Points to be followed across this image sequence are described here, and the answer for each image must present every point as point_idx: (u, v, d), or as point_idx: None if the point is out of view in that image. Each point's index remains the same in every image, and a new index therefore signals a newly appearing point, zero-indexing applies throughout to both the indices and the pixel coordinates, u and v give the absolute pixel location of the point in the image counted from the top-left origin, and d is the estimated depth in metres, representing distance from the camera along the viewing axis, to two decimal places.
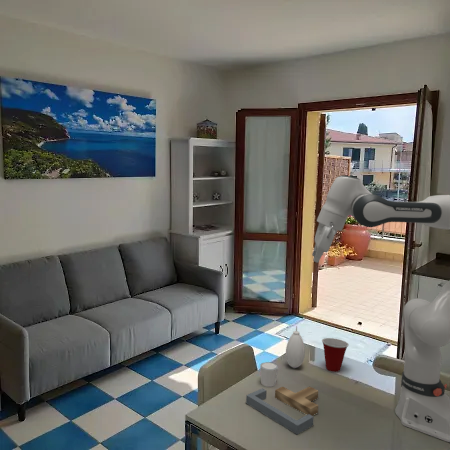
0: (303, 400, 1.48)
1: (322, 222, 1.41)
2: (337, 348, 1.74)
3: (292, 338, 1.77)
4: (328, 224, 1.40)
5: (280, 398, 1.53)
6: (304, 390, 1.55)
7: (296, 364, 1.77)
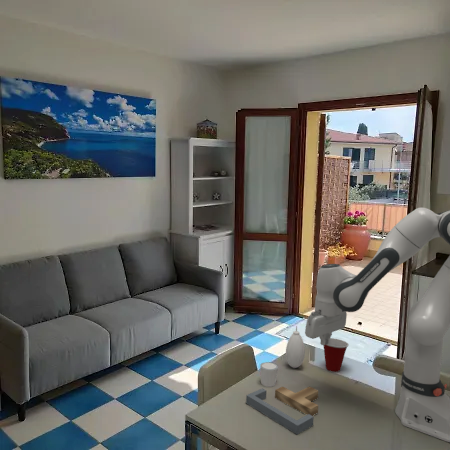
0: (303, 400, 1.48)
1: (315, 310, 1.56)
2: (337, 348, 1.74)
3: (292, 338, 1.77)
4: None
5: (280, 398, 1.53)
6: (304, 390, 1.55)
7: (296, 364, 1.77)
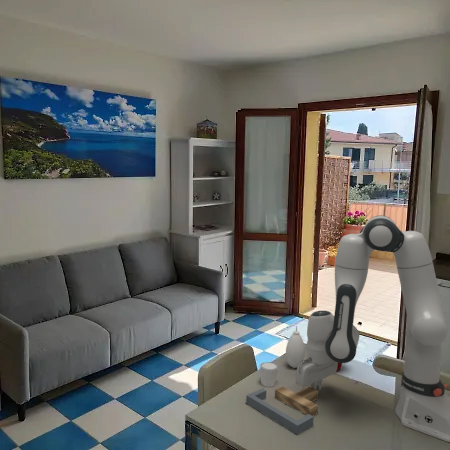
0: (303, 400, 1.48)
1: None
2: None
3: (292, 338, 1.77)
4: None
5: (280, 398, 1.53)
6: (304, 390, 1.55)
7: (296, 364, 1.77)
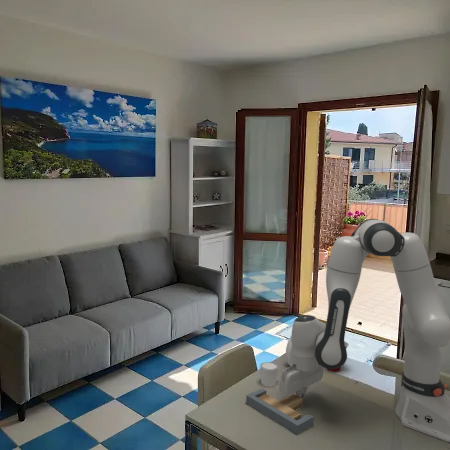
0: (286, 409, 1.42)
1: (290, 364, 1.50)
2: None
3: None
4: None
5: None
6: (288, 398, 1.49)
7: None
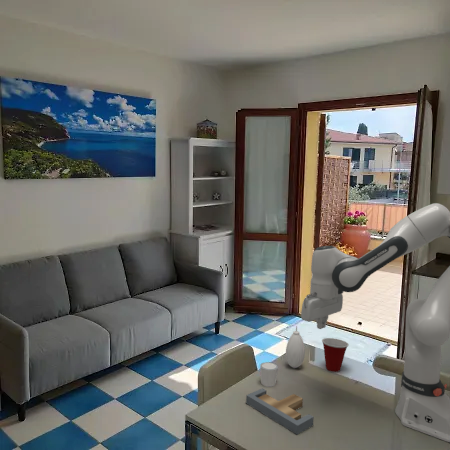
0: (286, 409, 1.42)
1: (310, 293, 1.54)
2: (337, 348, 1.74)
3: (292, 338, 1.77)
4: None
5: None
6: (288, 398, 1.49)
7: (296, 364, 1.77)
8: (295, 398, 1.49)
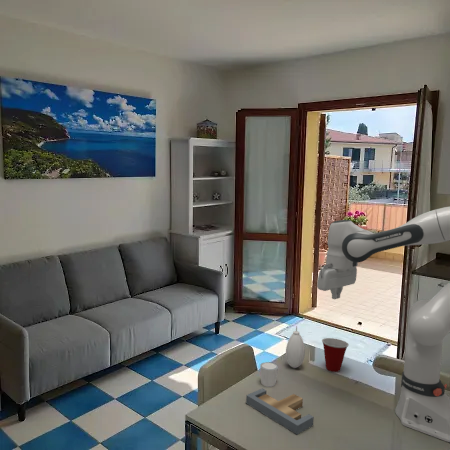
0: (286, 409, 1.42)
1: (326, 265, 1.61)
2: (337, 348, 1.74)
3: (292, 338, 1.77)
4: None
5: None
6: (288, 398, 1.49)
7: (296, 364, 1.77)
8: (295, 398, 1.49)
